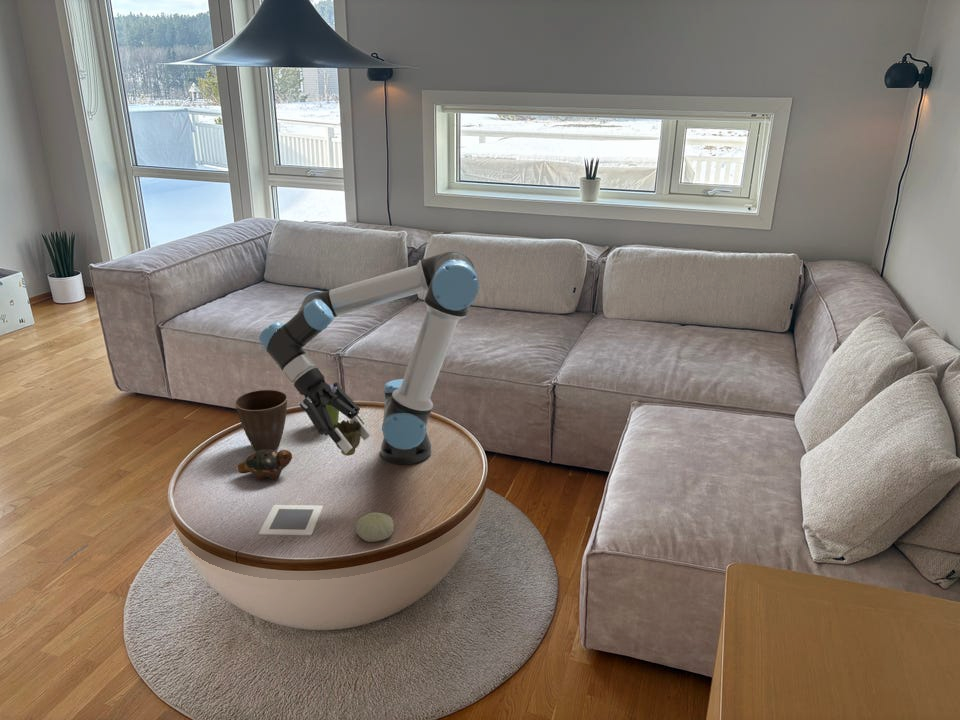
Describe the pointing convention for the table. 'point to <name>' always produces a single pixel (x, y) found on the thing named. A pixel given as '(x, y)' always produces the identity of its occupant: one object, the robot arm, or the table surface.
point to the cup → (350, 434)
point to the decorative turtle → (266, 463)
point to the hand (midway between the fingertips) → (358, 443)
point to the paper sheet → (291, 520)
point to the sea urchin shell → (375, 527)
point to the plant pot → (263, 417)
